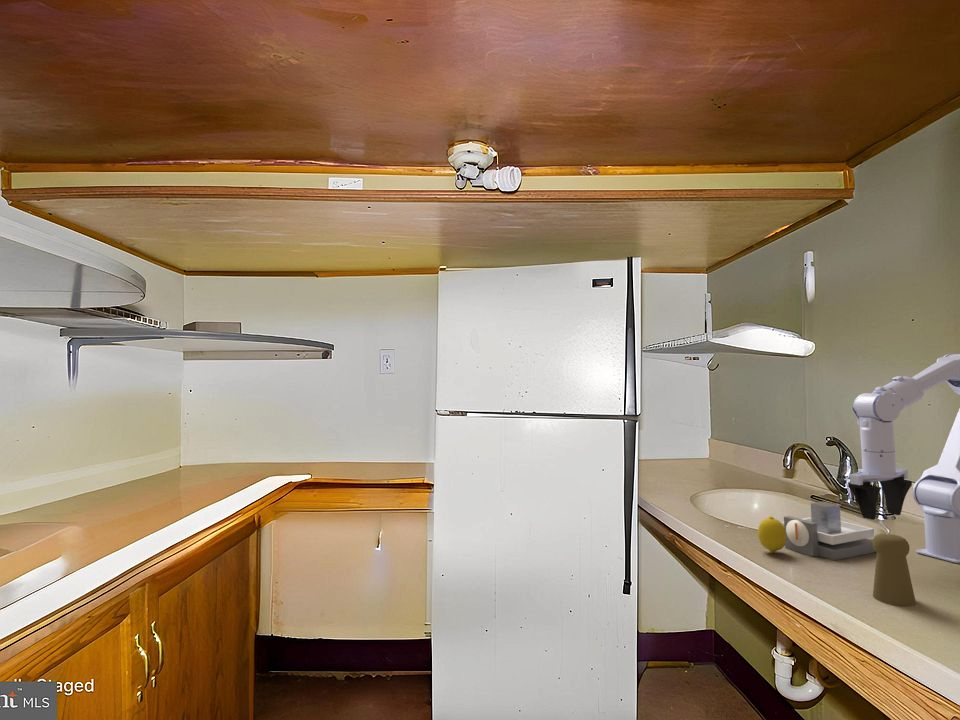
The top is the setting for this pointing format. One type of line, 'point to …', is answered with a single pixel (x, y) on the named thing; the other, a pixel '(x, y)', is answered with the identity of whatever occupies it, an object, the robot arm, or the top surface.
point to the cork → (892, 571)
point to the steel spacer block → (826, 517)
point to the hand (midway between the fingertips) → (881, 516)
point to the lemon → (772, 534)
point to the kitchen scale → (827, 539)
